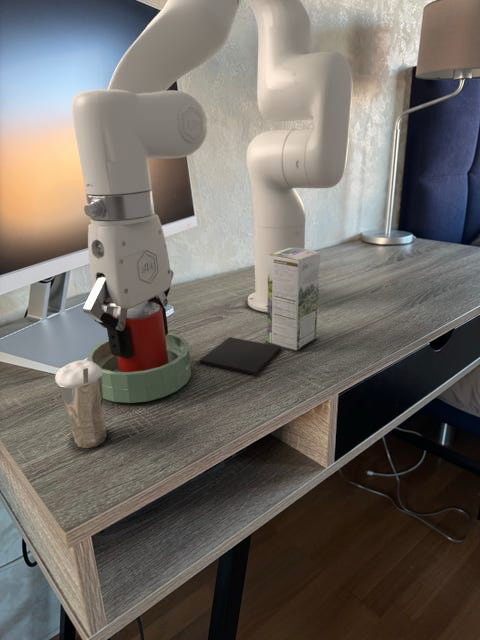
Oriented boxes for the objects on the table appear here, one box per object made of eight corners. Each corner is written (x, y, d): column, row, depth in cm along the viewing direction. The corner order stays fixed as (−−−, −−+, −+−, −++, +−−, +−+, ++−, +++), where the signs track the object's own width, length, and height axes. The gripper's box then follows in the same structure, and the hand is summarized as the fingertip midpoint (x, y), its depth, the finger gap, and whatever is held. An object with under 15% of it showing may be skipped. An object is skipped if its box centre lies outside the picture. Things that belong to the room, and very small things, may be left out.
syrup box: (286, 331, 75) (287, 246, 69) (317, 339, 71) (320, 250, 66) (266, 342, 71) (265, 253, 65) (298, 352, 67) (299, 258, 62)
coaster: (229, 339, 72) (229, 337, 72) (280, 349, 68) (280, 346, 68) (200, 363, 65) (199, 360, 65) (255, 375, 61) (255, 372, 61)
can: (141, 357, 65) (133, 298, 62) (178, 365, 62) (171, 304, 59) (110, 378, 60) (98, 314, 56) (148, 388, 57) (139, 322, 53)
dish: (136, 352, 69) (133, 325, 68) (209, 368, 63) (207, 339, 62) (71, 392, 58) (65, 361, 57) (151, 416, 53) (146, 383, 51)
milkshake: (79, 462, 45) (61, 375, 42) (64, 437, 49) (46, 356, 46) (121, 445, 48) (108, 361, 44) (104, 422, 52) (90, 344, 48)
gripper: (91, 222, 44) (117, 380, 51) (189, 198, 58) (199, 324, 65) (39, 219, 47) (70, 367, 54) (143, 197, 61) (158, 317, 68)
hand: (140, 343), depth 59 cm, fingers closed on can, 6 cm apart
